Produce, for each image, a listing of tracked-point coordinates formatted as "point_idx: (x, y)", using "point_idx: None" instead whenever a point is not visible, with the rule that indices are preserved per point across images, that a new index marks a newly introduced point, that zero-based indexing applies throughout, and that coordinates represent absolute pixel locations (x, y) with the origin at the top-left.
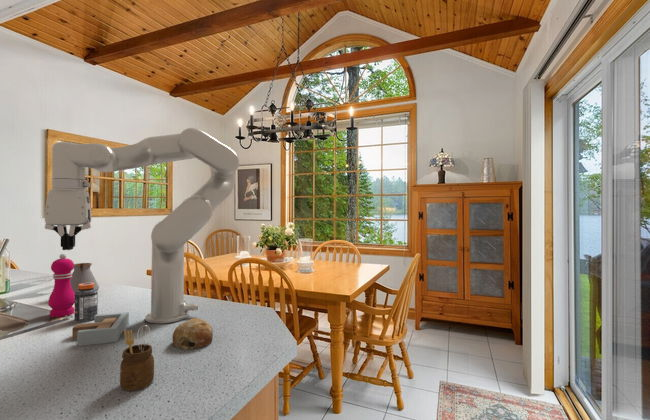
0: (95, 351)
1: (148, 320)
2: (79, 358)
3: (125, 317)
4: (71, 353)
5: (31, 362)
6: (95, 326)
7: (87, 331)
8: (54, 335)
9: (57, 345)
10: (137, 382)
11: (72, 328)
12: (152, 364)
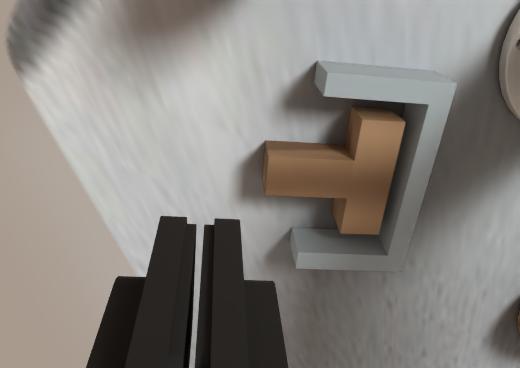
0: (341, 291)
1: (507, 100)
2: (310, 318)
3: (436, 143)
4: (286, 285)
5: None
6: (336, 197)
7: (323, 268)
8: (191, 116)
9: (233, 218)
10: None
11: (265, 194)
12: None
